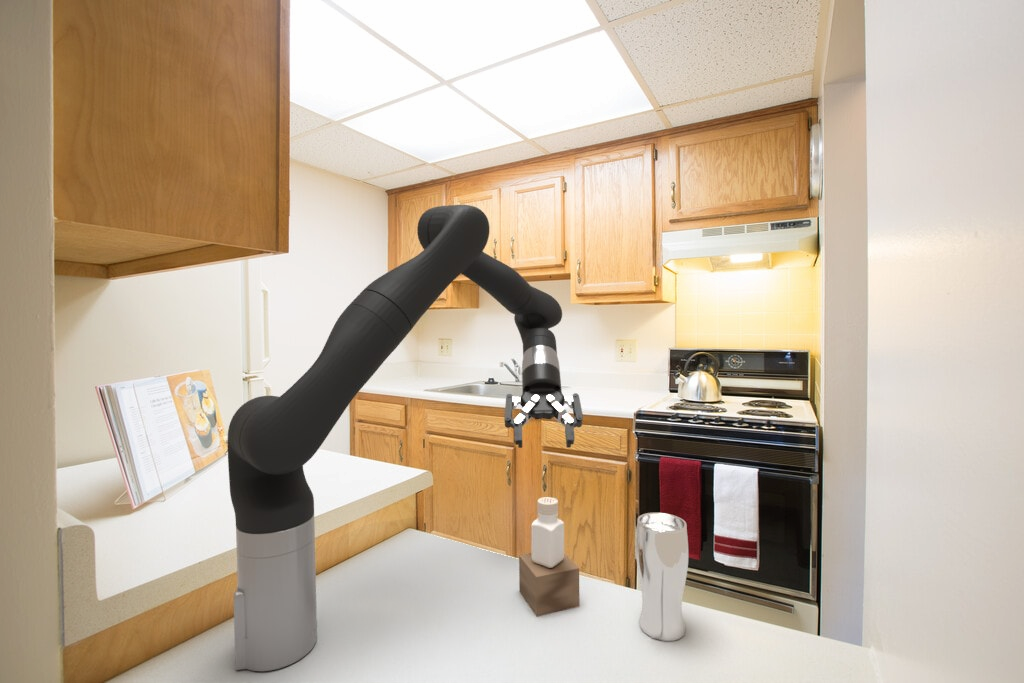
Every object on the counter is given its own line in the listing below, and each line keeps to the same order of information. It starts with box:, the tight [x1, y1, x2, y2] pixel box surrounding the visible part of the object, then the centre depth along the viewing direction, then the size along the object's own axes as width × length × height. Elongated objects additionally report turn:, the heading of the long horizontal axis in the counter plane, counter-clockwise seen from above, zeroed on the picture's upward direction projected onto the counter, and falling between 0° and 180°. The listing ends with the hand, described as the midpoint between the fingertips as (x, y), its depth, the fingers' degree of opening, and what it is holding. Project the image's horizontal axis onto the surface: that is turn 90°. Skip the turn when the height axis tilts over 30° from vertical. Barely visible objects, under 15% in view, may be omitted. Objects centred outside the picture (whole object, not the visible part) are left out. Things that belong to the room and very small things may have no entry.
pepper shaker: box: [530, 496, 565, 568], centre depth 73 cm, size 4×4×10 cm
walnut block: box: [518, 552, 580, 617], centre depth 73 cm, size 7×7×6 cm
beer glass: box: [635, 512, 689, 642], centre depth 66 cm, size 7×7×15 cm
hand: (544, 445), depth 83 cm, fingers open, 8 cm apart
